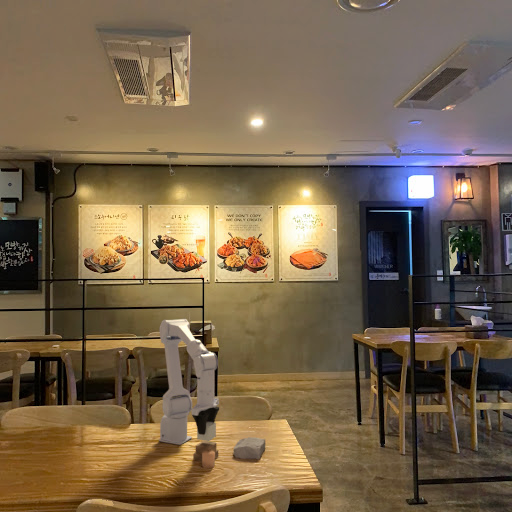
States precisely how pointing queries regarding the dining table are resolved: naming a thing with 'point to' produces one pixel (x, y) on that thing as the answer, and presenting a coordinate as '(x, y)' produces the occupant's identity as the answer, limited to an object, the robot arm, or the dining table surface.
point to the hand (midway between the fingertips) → (205, 431)
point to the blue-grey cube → (208, 432)
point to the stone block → (249, 448)
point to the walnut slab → (199, 456)
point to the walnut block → (205, 447)
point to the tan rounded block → (208, 459)
